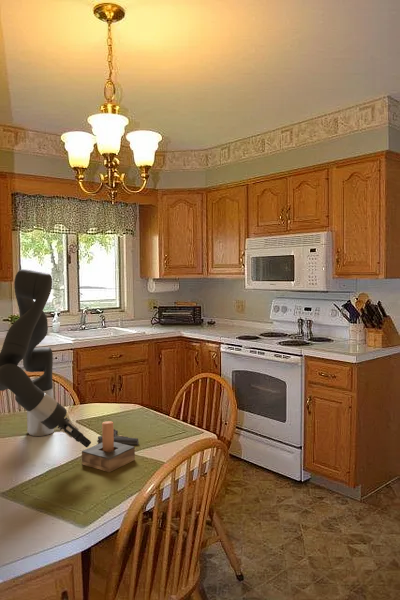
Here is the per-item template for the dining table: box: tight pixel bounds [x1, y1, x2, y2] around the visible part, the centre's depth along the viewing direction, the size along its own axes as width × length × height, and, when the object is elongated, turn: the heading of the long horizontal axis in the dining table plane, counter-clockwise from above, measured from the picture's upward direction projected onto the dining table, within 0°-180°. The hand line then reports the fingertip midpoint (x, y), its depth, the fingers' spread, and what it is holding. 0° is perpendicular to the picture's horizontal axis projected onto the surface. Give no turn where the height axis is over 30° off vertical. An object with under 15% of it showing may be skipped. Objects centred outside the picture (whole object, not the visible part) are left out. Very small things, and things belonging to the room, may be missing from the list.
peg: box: [101, 420, 114, 453], centre depth 159 cm, size 4×4×12 cm
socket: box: [81, 442, 136, 473], centre depth 159 cm, size 12×12×4 cm
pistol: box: [96, 428, 140, 446], centre depth 180 cm, size 3×15×12 cm
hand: (84, 440), depth 155 cm, fingers open, 8 cm apart
